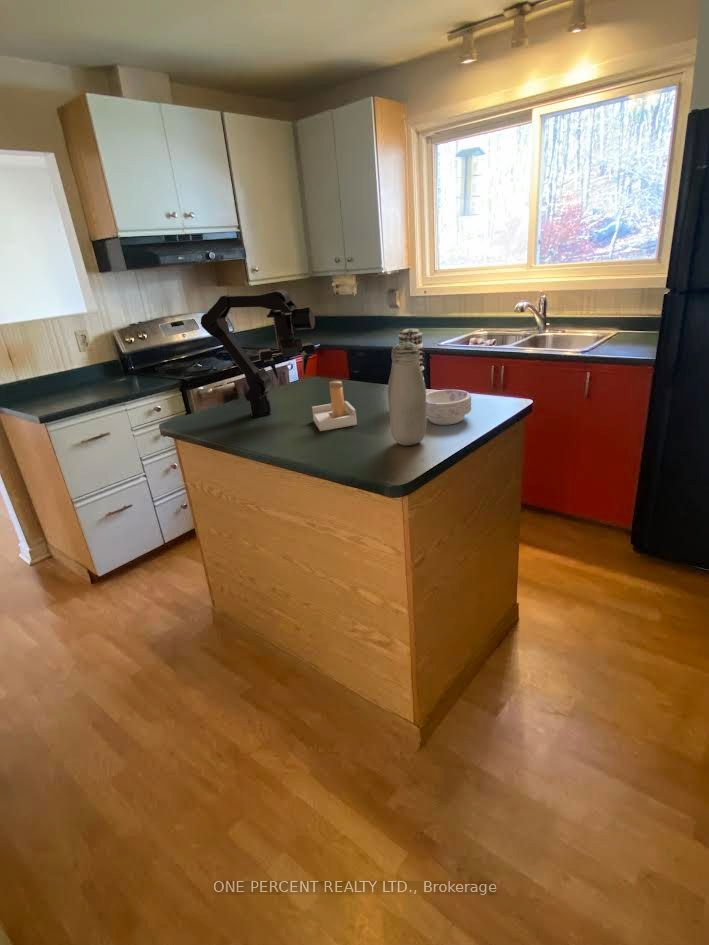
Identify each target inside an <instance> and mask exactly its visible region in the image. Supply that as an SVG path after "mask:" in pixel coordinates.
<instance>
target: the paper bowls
mask: <svg viewBox="0 0 709 945" xmlns="http://www.w3.org/2000/svg"><path fill="white" fill-rule="evenodd" d="M471 411H472V395H471V394H470V392H468V391H467V390H466V391H465V390H461V389H439V390H434V391H430V392H426V418H428V420H429V422H431V423H432V424H435V425H439V426H440V425H441V426H447V425H448V426H450V425H456V424H458V423H460V422H462V421H463V420H464V418H465V416H466V415H468V414H469V413H470V412H471Z"/></svg>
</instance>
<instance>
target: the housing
mask: <svg viewBox="0 0 709 945" xmlns="http://www.w3.org/2000/svg"><path fill="white" fill-rule="evenodd" d="M344 407H345V416H343V417H337V418H333V411H332V403H326V404H321V405H314V406H311V409H312V411H311V412H312V417H313V423H314V424H315V426H316V427H317V428H318V430H319V432H322V431H329V430H334V429H339V428H345V427H351V426H356V425H358V421H357V410H356V409H355V408H354V406H352V404H351V403H349V401H347V400H344Z"/></svg>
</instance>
